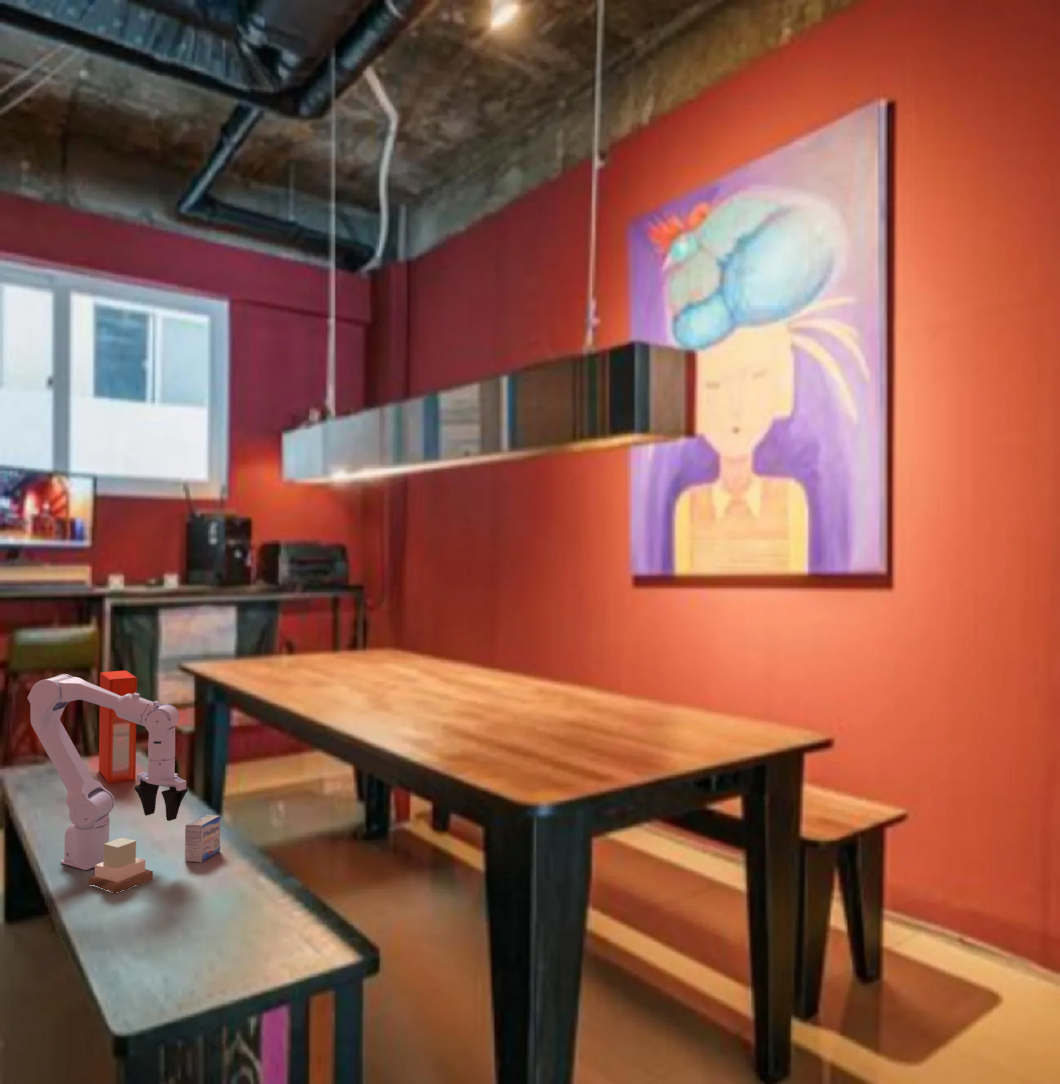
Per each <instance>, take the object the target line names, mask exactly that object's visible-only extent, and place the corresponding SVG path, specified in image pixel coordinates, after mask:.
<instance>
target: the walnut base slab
mask: <svg viewBox="0 0 1060 1084" xmlns="http://www.w3.org/2000/svg"><path fill="white" fill-rule="evenodd" d="M153 879H154V871H153V870H150V869H146V868H145V872H142V873H140V874H137V875H135V876H132V877H130V878H127V879H125V880H122V881H120V882H113V881H110V880H106V879H102V878H98V877H95V874H93V875H91V876H88V886H89V885H95V886H98V887H100V888H103V889H105V890H109V891H111V892H113V893H112V894H114V893H117V892H120V891H122V890H125V891H127V890H129V889H128V888H130V887H133V886H135V885H138V886H141V885H143V884H145V882H146V883H148V882H150V881H153ZM147 881H148V882H147ZM142 883H143V884H142ZM135 887H136V886H135ZM133 888H134V887H133ZM126 889H127V890H126ZM130 889H131V888H130ZM111 892H110V893H111ZM122 892H123V891H122ZM120 893H121V892H120ZM117 894H118V893H117Z"/></svg>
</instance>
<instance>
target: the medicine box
mask: <svg viewBox="0 0 1060 1084" xmlns="http://www.w3.org/2000/svg"><path fill="white" fill-rule="evenodd" d="M221 818H222V817H221V815H215V814H205V815H202V816H200V817H198V818H197V819H194V820H193V821H191V822H188V823H187V824H185V828H184V830H185V831H184V835H185V836H184V842H185V843H184V861H185V862H189V863H191V862H192V863H203V862H205V861H206V859H207V860H208V859H210V858H211V857H213V856H214V855H216V854H218V853H219V852H220V851H221ZM217 852H218V853H217ZM212 855H213V856H212ZM209 857H210V858H209ZM204 860H205V861H204Z"/></svg>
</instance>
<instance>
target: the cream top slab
mask: <svg viewBox="0 0 1060 1084" xmlns="http://www.w3.org/2000/svg"><path fill="white" fill-rule="evenodd" d="M145 869H146V859H143V858H139V857H136V862H133V863H131V864H128V865H125V866H123V867H120V868H113V867H110V866H106V865H103V862H102V863H99V864H96V865H95V867H94V875H95V877H98V878H102V879H106V880H110V881H113V882H120V881H122V880H125V879H127V878H130V877H132V876H135V875H137V874H140V873H142V872H145Z"/></svg>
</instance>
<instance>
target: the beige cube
mask: <svg viewBox="0 0 1060 1084" xmlns="http://www.w3.org/2000/svg"><path fill="white" fill-rule="evenodd" d="M136 858H137V841H136V840H134V839H129V838H125V837H120V838H117V839H114V840H111V841H110V840H109V842H107V843H105V844H104V854H103V865H106V866H110V867H113V868H120V867H123V866H125V865H128V864H131V863H133V862H136Z"/></svg>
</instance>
